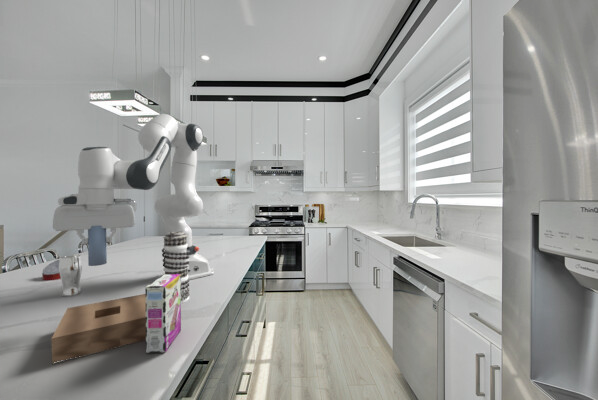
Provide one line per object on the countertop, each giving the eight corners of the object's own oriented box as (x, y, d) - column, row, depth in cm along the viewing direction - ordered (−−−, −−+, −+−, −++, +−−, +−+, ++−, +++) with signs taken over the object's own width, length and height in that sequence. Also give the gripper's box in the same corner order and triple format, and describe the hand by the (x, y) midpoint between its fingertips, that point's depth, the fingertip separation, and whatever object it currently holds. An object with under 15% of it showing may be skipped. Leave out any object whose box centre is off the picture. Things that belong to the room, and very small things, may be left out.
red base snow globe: (70, 285, 132) (76, 268, 130) (42, 289, 123) (48, 271, 121) (64, 271, 138) (69, 255, 136) (37, 274, 129) (42, 256, 127)
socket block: (146, 311, 90) (146, 293, 89) (151, 338, 73) (150, 316, 73) (68, 328, 79) (67, 308, 79) (52, 364, 62) (51, 338, 62)
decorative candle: (170, 295, 104) (169, 230, 103) (194, 295, 104) (193, 230, 103) (157, 305, 95) (155, 234, 94) (183, 305, 94) (182, 233, 94)
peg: (107, 261, 86) (106, 224, 86) (106, 264, 83) (105, 225, 83) (89, 263, 84) (89, 225, 84) (87, 266, 80) (86, 226, 80)
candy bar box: (166, 353, 66) (165, 286, 65) (145, 354, 65) (143, 287, 65) (182, 330, 77) (181, 273, 77) (164, 331, 76) (162, 273, 76)
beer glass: (69, 297, 103) (68, 258, 103) (55, 296, 104) (53, 258, 104) (87, 291, 110) (86, 254, 109) (73, 290, 111) (72, 254, 111)
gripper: (136, 198, 91) (136, 239, 91) (56, 199, 81) (56, 245, 81) (136, 198, 86) (136, 241, 86) (50, 199, 75) (51, 248, 75)
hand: (97, 243), depth 83 cm, fingers closed on peg, 4 cm apart
